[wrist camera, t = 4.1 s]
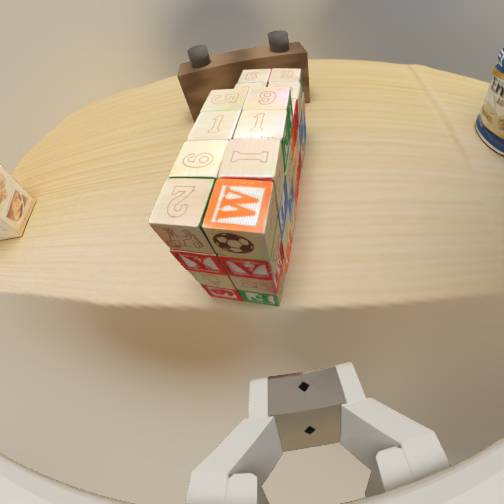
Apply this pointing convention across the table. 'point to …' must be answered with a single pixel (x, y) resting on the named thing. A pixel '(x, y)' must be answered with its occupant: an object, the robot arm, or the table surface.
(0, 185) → the coffeecake box
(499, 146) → the beverage bottle
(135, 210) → the table surface
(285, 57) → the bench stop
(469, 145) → the table surface
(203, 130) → the stack of blocks
